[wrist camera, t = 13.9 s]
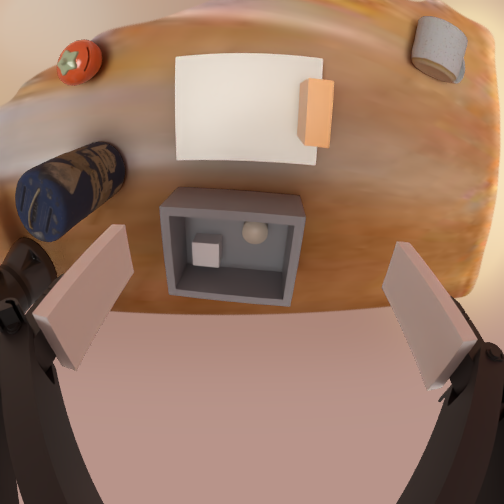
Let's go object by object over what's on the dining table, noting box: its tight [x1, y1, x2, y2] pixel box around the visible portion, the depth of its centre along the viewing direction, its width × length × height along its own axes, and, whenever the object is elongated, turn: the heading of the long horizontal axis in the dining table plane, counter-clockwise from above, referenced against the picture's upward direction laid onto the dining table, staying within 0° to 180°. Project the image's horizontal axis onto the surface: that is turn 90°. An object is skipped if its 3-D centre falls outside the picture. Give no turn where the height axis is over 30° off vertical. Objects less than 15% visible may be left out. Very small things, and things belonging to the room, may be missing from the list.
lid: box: [175, 53, 334, 165], centre depth 29 cm, size 19×15×11 cm
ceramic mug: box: [411, 16, 468, 83], centre depth 23 cm, size 11×8×8 cm
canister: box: [15, 142, 125, 242], centre depth 31 cm, size 10×10×18 cm
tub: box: [159, 187, 306, 307], centre depth 40 cm, size 18×14×8 cm
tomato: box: [57, 40, 103, 86], centre depth 27 cm, size 7×7×8 cm
